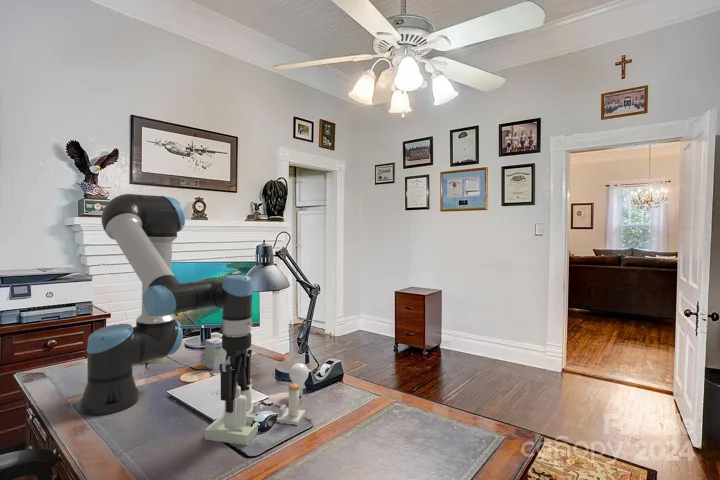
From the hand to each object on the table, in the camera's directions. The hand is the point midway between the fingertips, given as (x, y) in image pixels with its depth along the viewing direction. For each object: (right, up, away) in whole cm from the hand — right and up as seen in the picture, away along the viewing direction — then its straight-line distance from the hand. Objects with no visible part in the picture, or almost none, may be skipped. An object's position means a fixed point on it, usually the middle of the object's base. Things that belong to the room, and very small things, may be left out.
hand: (235, 418), depth 106 cm
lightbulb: (+13, -4, +23) cm, 27 cm away
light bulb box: (-21, -1, +49) cm, 53 cm away
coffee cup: (-49, 0, +52) cm, 72 cm away
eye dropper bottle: (0, -2, 0) cm, 2 cm away
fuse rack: (+7, -4, +10) cm, 13 cm away
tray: (0, -4, 0) cm, 4 cm away
